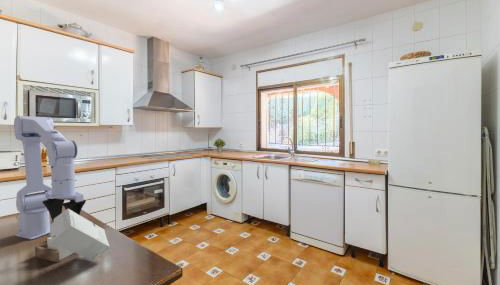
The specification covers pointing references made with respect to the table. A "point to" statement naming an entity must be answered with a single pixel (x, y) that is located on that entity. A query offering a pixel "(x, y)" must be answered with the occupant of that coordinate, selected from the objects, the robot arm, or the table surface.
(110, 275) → the table surface
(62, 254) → the white drawer with handle
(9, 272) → the table surface
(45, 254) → the walnut bay
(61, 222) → the skincare box
